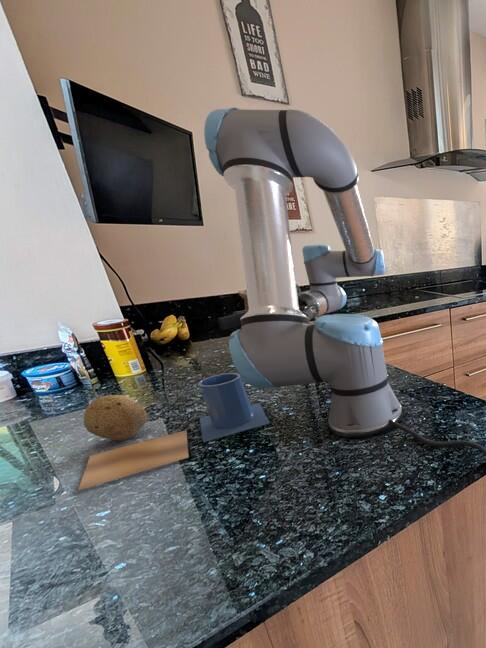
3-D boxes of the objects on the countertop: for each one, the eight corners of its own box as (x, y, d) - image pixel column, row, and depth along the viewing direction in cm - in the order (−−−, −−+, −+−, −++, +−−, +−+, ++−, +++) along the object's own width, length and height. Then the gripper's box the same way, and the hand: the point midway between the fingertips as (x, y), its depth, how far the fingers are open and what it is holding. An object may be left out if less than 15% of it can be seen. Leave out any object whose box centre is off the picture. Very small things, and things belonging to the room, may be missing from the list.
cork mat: (189, 458, 75) (188, 457, 74) (78, 492, 66) (77, 490, 66) (187, 431, 85) (186, 429, 85) (90, 457, 76) (89, 455, 76)
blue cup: (255, 421, 87) (242, 379, 83) (214, 432, 83) (198, 389, 79) (251, 409, 93) (238, 370, 89) (212, 419, 89) (197, 379, 85)
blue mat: (270, 424, 86) (269, 423, 86) (203, 443, 80) (203, 442, 79) (259, 404, 97) (259, 402, 96) (200, 419, 90) (199, 418, 90)
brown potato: (81, 452, 78) (57, 407, 74) (119, 430, 86) (98, 388, 82) (129, 449, 79) (107, 404, 75) (162, 427, 87) (144, 386, 83)
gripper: (348, 319, 109) (297, 341, 89) (270, 319, 113) (205, 339, 94) (343, 292, 106) (289, 308, 87) (262, 292, 110) (194, 308, 91)
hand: (245, 324), depth 90 cm, fingers open, 13 cm apart
